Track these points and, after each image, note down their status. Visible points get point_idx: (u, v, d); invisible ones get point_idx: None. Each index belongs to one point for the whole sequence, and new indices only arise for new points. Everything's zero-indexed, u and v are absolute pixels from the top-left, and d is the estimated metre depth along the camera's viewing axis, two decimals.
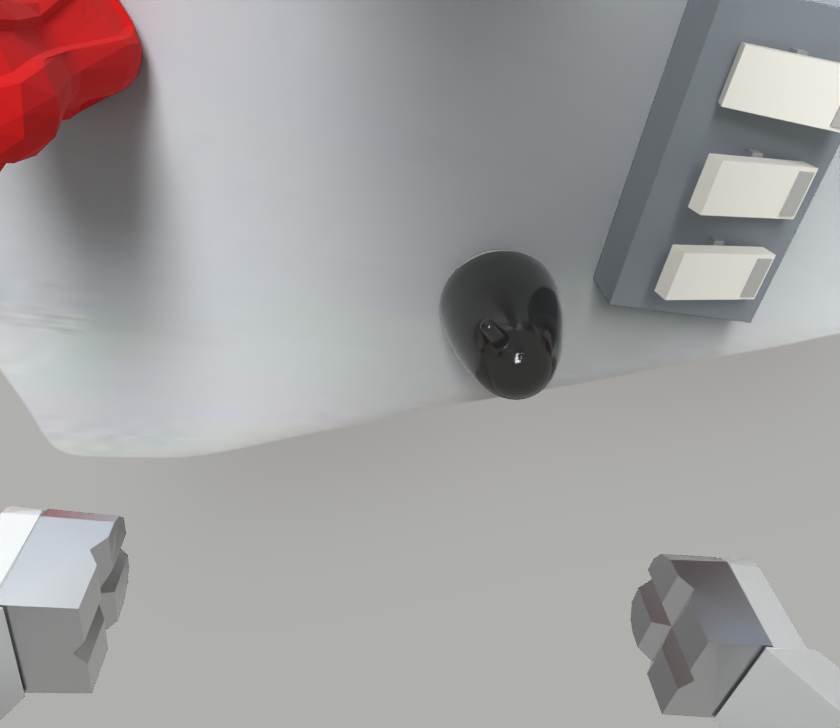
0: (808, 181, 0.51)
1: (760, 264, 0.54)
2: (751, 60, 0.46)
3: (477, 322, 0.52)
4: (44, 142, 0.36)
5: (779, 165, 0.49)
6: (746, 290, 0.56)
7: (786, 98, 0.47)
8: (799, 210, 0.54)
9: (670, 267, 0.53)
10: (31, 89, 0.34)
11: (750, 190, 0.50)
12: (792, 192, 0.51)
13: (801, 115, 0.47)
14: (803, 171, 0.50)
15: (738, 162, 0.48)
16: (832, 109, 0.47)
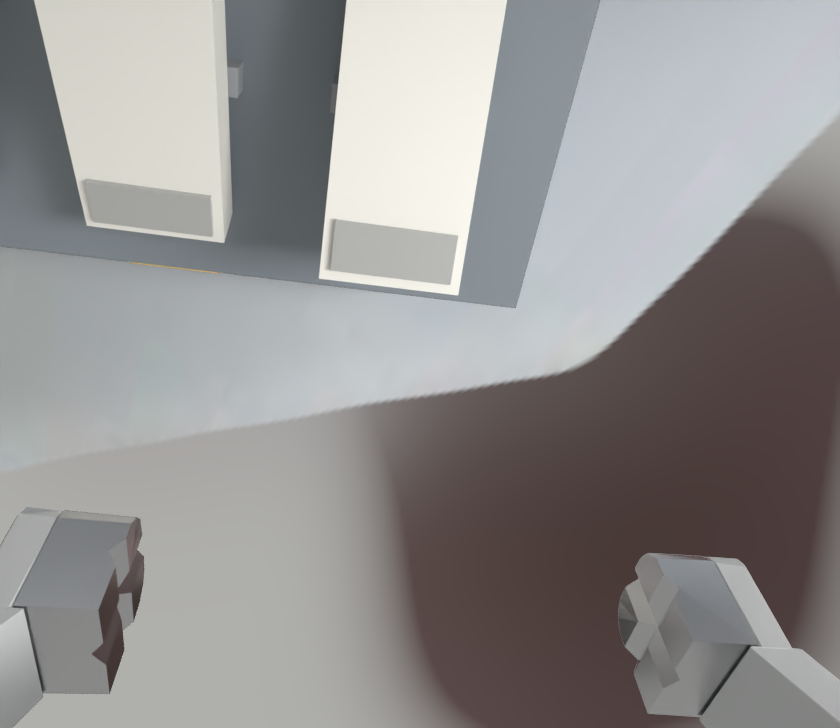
0: (189, 228, 0.20)
1: None
2: None
3: None
4: None
5: (217, 131, 0.18)
6: None
7: (391, 93, 0.18)
8: (116, 245, 0.23)
9: None
10: None
11: (133, 57, 0.17)
12: (153, 195, 0.20)
13: (352, 143, 0.18)
14: (211, 206, 0.20)
15: None
16: (373, 212, 0.19)
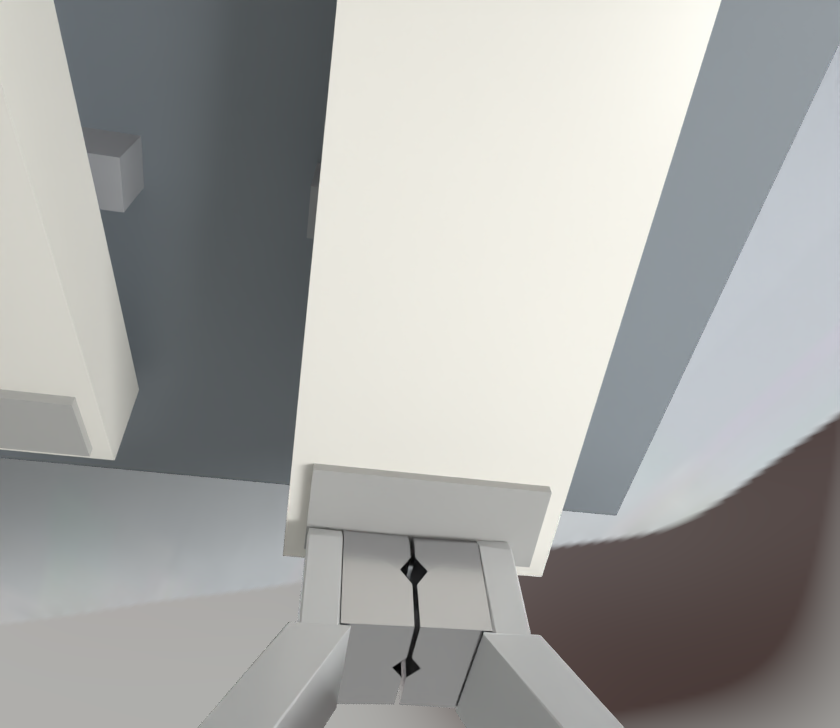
0: (42, 444, 0.11)
1: None
2: None
3: None
4: None
5: (65, 298, 0.09)
6: None
7: (432, 235, 0.08)
8: None
9: None
10: None
11: None
12: None
13: (347, 332, 0.09)
14: (77, 414, 0.10)
15: None
16: (388, 450, 0.10)
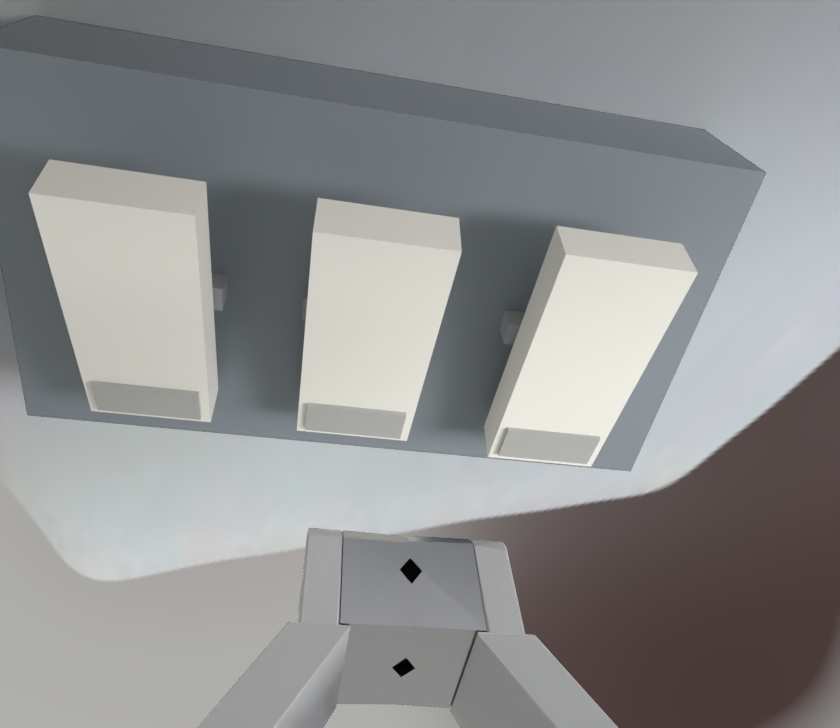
0: (382, 433, 0.25)
1: (184, 401, 0.23)
2: (660, 288, 0.20)
3: None
4: None
5: (424, 374, 0.23)
6: (111, 390, 0.23)
7: (568, 360, 0.22)
8: None
9: (136, 188, 0.18)
10: None
11: (373, 332, 0.21)
12: (360, 413, 0.24)
13: (530, 387, 0.23)
14: (405, 419, 0.24)
15: (448, 289, 0.20)
16: (537, 423, 0.24)
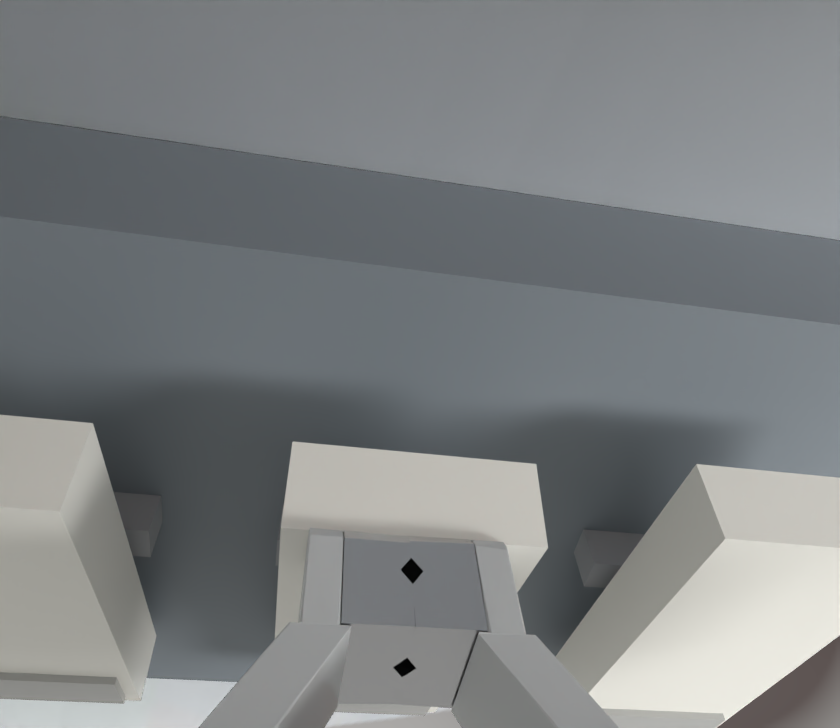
0: (399, 711, 0.16)
1: (94, 689, 0.15)
2: None
3: None
4: None
5: None
6: None
7: (697, 647, 0.14)
8: None
9: None
10: None
11: None
12: None
13: (630, 673, 0.15)
14: None
15: (518, 585, 0.12)
16: (634, 704, 0.16)
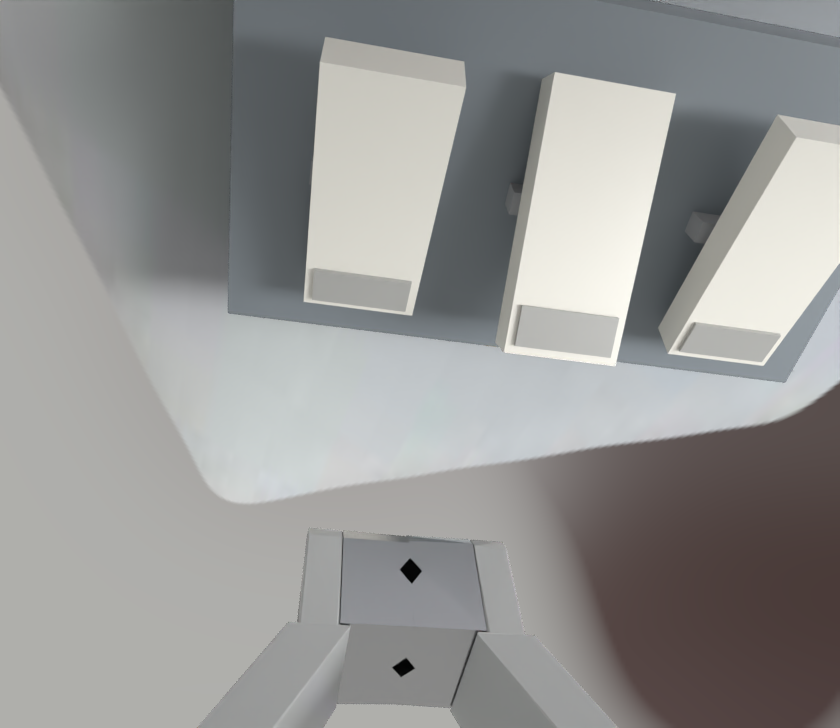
0: (593, 349, 0.24)
1: (396, 290, 0.24)
2: None
3: None
4: None
5: (637, 258, 0.23)
6: (331, 278, 0.24)
7: (770, 250, 0.23)
8: (482, 333, 0.28)
9: (408, 63, 0.19)
10: None
11: (594, 198, 0.22)
12: (573, 317, 0.23)
13: (727, 279, 0.24)
14: (617, 326, 0.24)
15: (663, 139, 0.22)
16: (724, 318, 0.25)
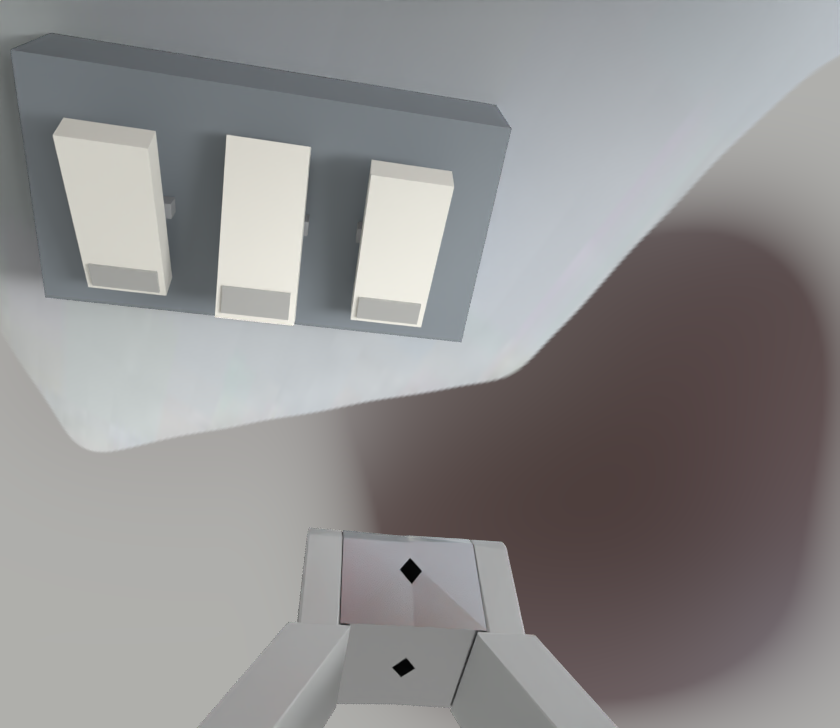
0: (275, 314, 0.36)
1: (148, 277, 0.36)
2: (434, 197, 0.33)
3: None
4: None
5: (299, 253, 0.35)
6: (101, 270, 0.36)
7: (388, 247, 0.35)
8: None
9: (114, 133, 0.31)
10: None
11: (264, 214, 0.34)
12: (259, 293, 0.35)
13: (368, 266, 0.36)
14: (290, 298, 0.36)
15: (306, 176, 0.34)
16: (378, 294, 0.37)
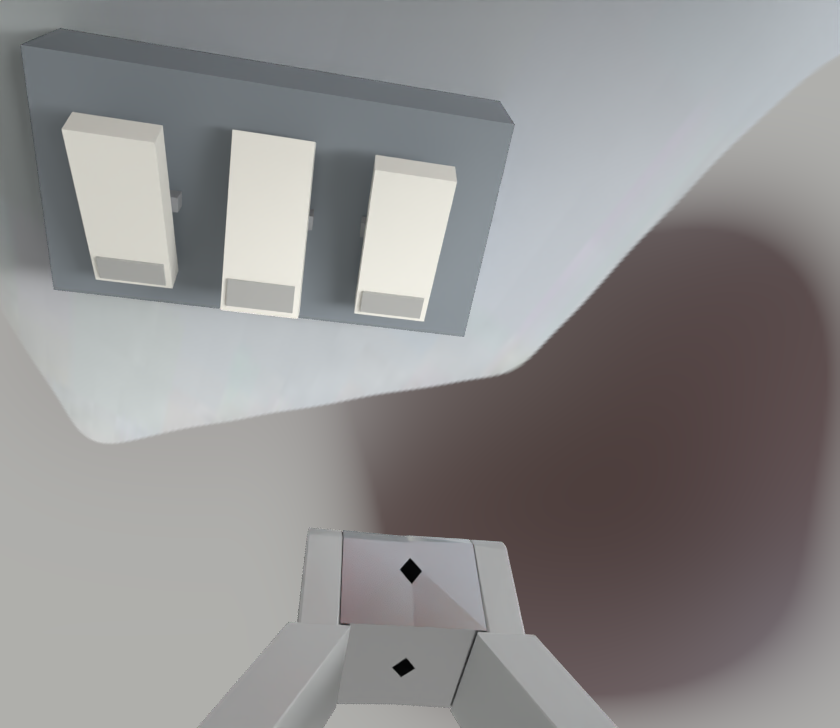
0: (279, 307, 0.36)
1: (154, 270, 0.37)
2: (437, 192, 0.34)
3: None
4: None
5: (304, 247, 0.36)
6: (108, 263, 0.36)
7: (391, 241, 0.36)
8: None
9: (122, 128, 0.32)
10: None
11: (269, 208, 0.35)
12: (263, 286, 0.36)
13: (371, 261, 0.37)
14: (294, 292, 0.36)
15: (311, 171, 0.35)
16: (382, 288, 0.38)
